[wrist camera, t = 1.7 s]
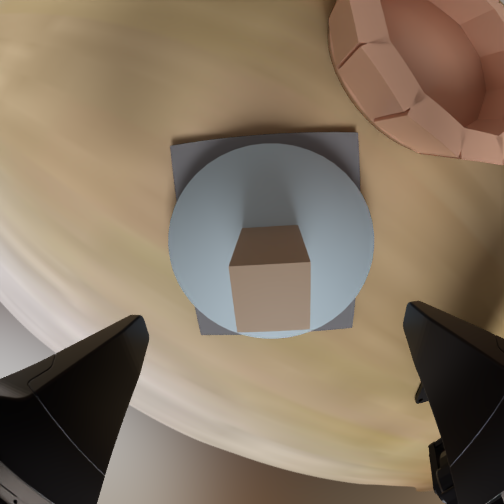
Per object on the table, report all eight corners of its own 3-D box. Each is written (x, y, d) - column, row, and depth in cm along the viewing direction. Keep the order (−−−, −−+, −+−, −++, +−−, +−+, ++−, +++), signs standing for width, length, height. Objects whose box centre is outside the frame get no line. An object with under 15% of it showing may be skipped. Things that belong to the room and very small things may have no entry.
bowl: (494, 162, 13) (544, 174, 8) (339, 150, 14) (370, 152, 9) (469, 10, 9) (507, -8, 4) (313, -27, 10) (325, -73, 5)
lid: (360, 320, 17) (387, 386, 12) (192, 328, 18) (166, 394, 12) (366, 142, 13) (421, 141, 8) (162, 156, 14) (104, 164, 9)
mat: (350, 324, 18) (352, 327, 17) (202, 331, 19) (201, 334, 18) (355, 132, 14) (358, 132, 13) (172, 145, 14) (170, 145, 14)
